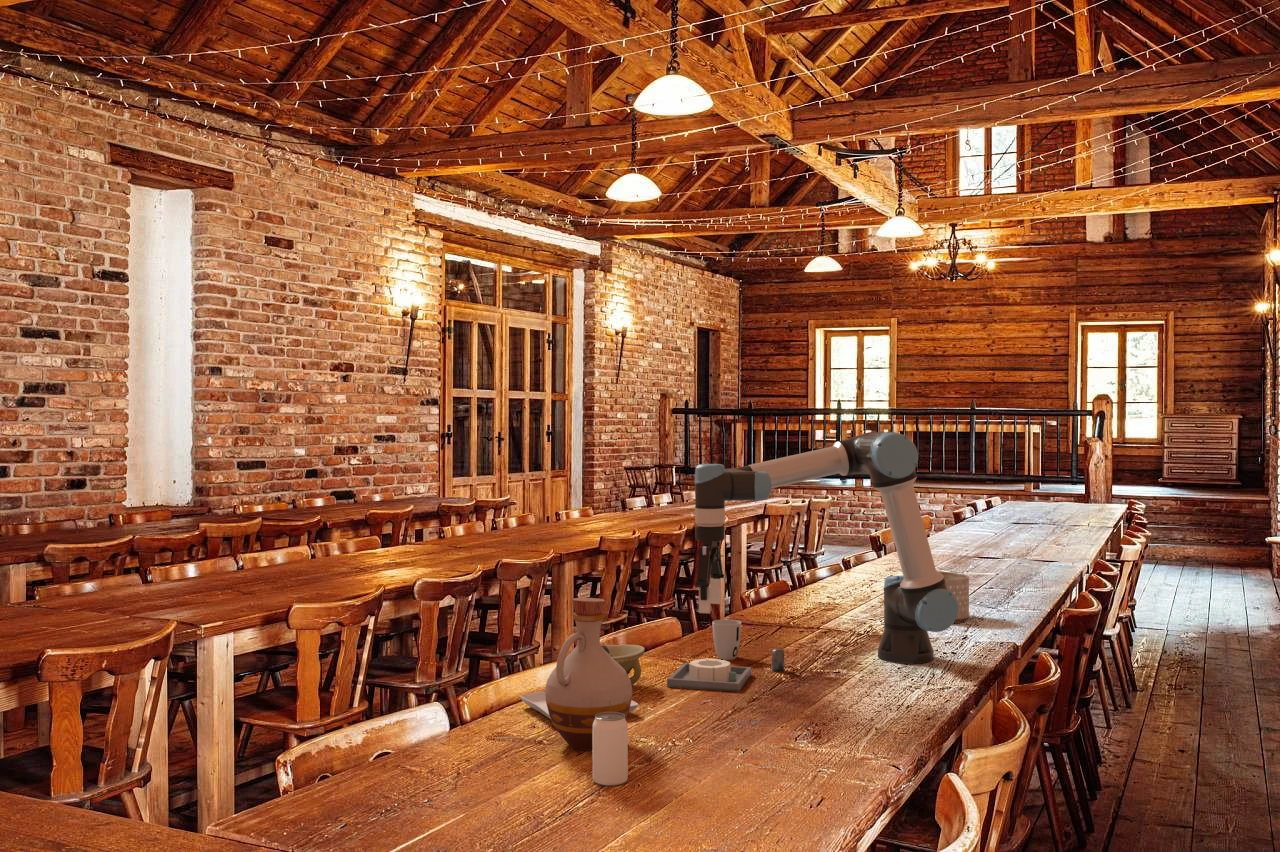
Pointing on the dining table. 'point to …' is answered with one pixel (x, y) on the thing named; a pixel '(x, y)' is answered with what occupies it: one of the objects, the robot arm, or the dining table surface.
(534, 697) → the salad plate
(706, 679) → the ring
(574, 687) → the jug
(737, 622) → the cup
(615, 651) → the bowl
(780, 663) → the capsule
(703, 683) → the tray
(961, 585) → the planter
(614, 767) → the can
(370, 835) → the dining table surface
